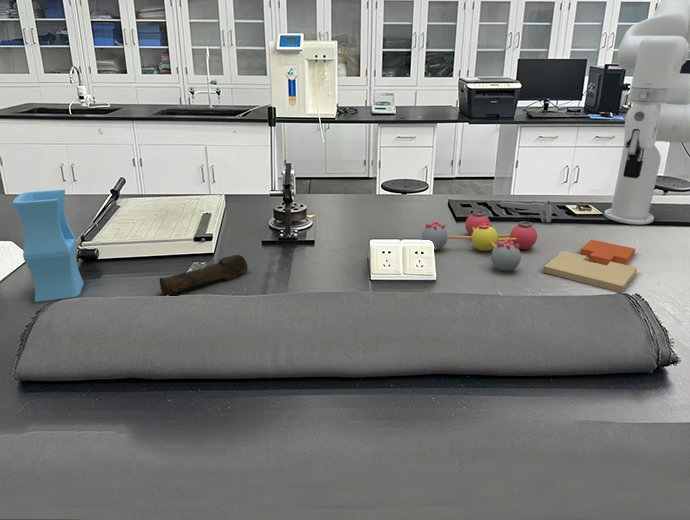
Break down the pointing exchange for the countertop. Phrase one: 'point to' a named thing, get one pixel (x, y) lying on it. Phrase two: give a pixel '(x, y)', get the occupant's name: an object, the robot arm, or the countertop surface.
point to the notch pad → (590, 271)
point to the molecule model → (488, 239)
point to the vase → (49, 245)
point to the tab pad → (607, 252)
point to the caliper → (533, 208)
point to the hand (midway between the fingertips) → (631, 176)
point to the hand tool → (204, 275)
